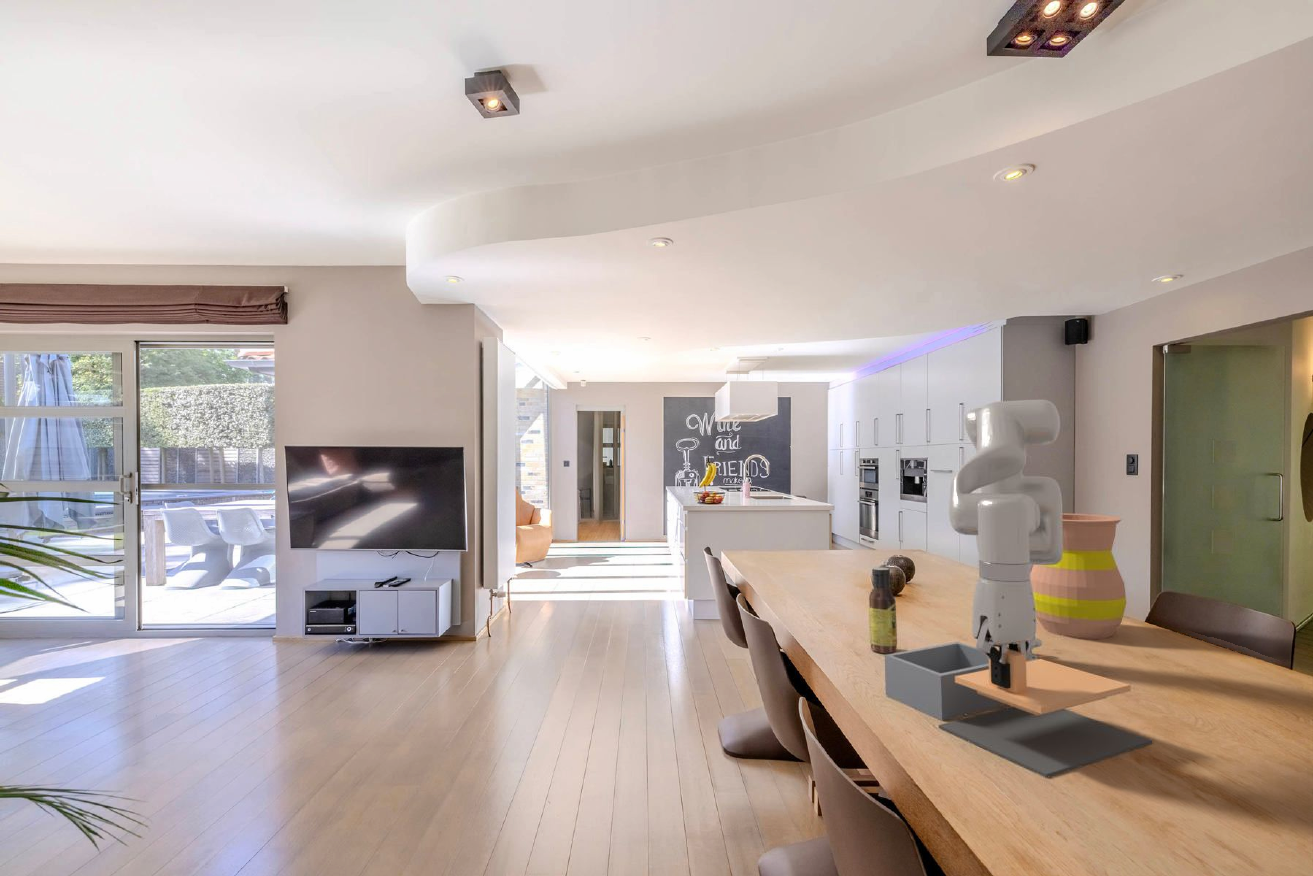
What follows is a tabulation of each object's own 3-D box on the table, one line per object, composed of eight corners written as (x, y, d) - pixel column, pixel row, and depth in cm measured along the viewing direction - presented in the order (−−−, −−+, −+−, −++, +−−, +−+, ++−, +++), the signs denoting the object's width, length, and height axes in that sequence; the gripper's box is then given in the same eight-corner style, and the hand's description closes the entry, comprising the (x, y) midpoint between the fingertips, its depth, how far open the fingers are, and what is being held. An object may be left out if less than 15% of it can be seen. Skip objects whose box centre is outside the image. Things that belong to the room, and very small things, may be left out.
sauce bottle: (899, 655, 159) (897, 571, 159) (871, 654, 160) (869, 570, 160) (895, 647, 165) (893, 566, 165) (868, 646, 166) (866, 566, 167)
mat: (1038, 702, 128) (1038, 700, 128) (1152, 743, 109) (1152, 740, 109) (938, 727, 117) (938, 725, 117) (1046, 777, 99) (1046, 774, 99)
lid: (1040, 672, 125) (1039, 626, 125) (1131, 700, 110) (1129, 648, 111) (955, 690, 116) (953, 641, 116) (1041, 723, 101) (1039, 667, 102)
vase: (1016, 619, 189) (1013, 513, 190) (1100, 621, 186) (1096, 513, 187) (1050, 641, 167) (1047, 521, 168) (1146, 643, 164) (1142, 521, 165)
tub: (958, 679, 141) (957, 641, 141) (1018, 701, 128) (1017, 659, 128) (885, 695, 133) (884, 655, 133) (942, 720, 120) (940, 675, 120)
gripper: (1017, 565, 117) (1020, 670, 117) (950, 572, 111) (953, 685, 110) (1058, 571, 110) (1061, 683, 110) (989, 580, 104) (993, 699, 103)
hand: (1007, 683), depth 110 cm, fingers closed on lid, 2 cm apart
